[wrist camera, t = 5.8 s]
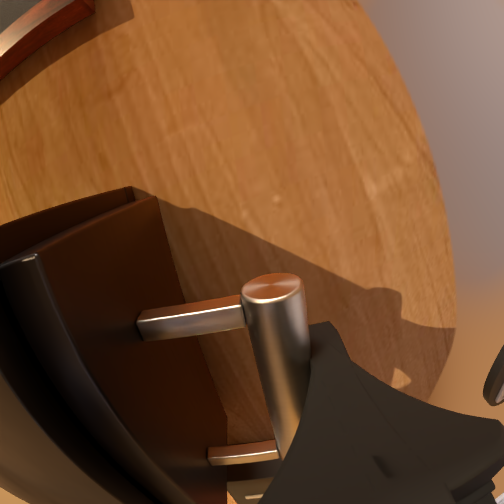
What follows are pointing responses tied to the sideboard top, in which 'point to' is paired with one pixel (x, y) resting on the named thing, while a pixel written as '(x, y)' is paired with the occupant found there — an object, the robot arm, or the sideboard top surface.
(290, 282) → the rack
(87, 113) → the sideboard top surface
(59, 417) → the black box
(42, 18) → the picture frame
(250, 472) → the timer panel
